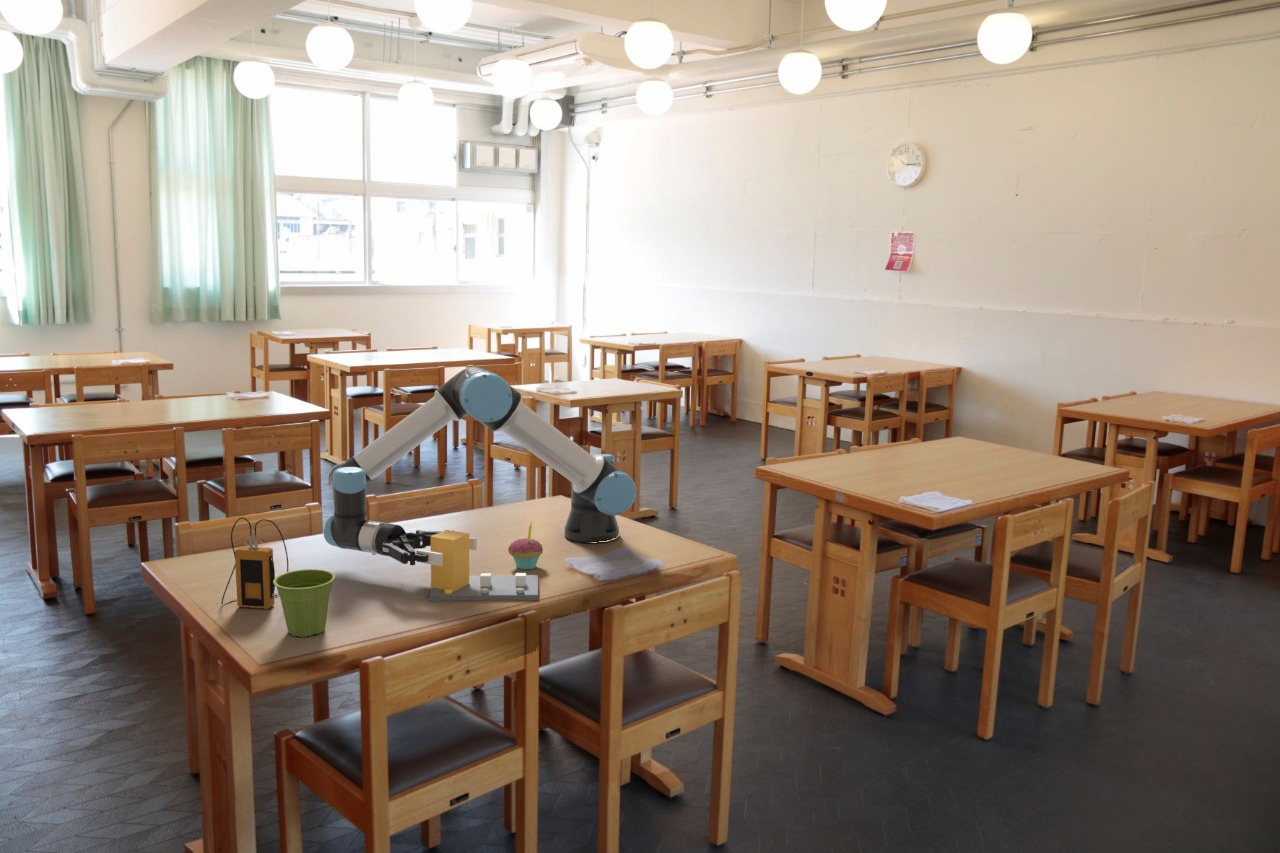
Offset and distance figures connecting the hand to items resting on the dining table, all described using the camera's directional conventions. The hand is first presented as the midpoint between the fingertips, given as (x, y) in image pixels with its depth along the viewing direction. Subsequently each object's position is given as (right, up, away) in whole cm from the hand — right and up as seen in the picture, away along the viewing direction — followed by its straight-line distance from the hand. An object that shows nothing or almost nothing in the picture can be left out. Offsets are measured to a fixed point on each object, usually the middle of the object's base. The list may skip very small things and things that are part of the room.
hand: (459, 551), depth 225 cm
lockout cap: (-3, -8, +3) cm, 9 cm away
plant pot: (-27, -13, -24) cm, 38 cm away
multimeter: (-42, -10, -7) cm, 44 cm away
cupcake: (+13, -7, +21) cm, 26 cm away
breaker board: (+5, -9, +4) cm, 11 cm away
